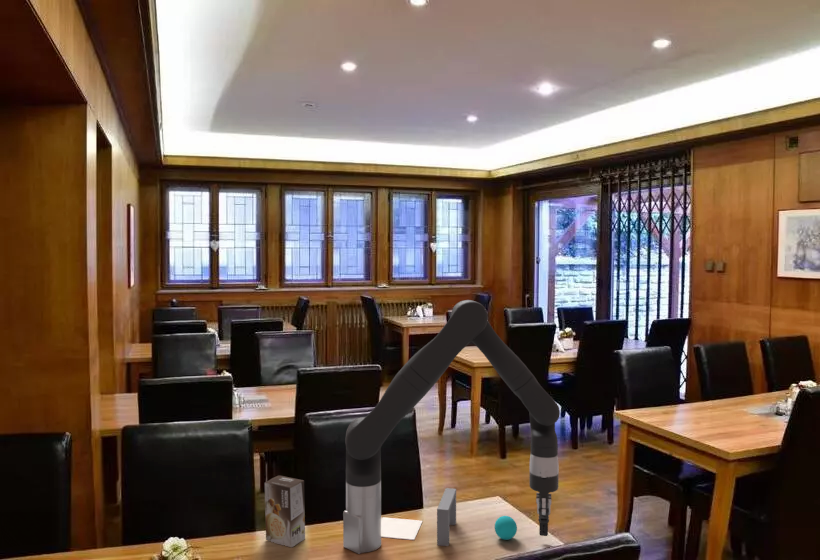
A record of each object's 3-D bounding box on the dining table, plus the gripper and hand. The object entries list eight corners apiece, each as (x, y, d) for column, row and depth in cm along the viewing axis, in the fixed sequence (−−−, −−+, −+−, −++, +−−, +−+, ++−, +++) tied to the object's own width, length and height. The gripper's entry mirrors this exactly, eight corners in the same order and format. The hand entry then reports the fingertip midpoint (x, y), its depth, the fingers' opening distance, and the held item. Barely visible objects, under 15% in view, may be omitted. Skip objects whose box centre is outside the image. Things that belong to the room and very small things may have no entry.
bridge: (456, 522, 178) (456, 488, 178) (448, 546, 163) (448, 509, 163) (445, 521, 179) (445, 488, 178) (437, 545, 164) (437, 509, 164)
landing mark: (422, 521, 179) (422, 520, 179) (414, 540, 167) (414, 539, 167) (382, 517, 181) (382, 517, 181) (371, 536, 169) (371, 535, 169)
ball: (508, 545, 163) (509, 523, 163) (490, 539, 168) (490, 517, 167) (521, 538, 168) (521, 516, 168) (502, 531, 172) (502, 510, 172)
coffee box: (306, 538, 168) (305, 480, 168) (291, 548, 163) (290, 487, 162) (279, 531, 173) (279, 474, 172) (264, 540, 167) (263, 482, 166)
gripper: (530, 461, 172) (529, 522, 173) (529, 478, 159) (528, 544, 160) (557, 463, 170) (557, 525, 171) (559, 480, 158) (558, 547, 158)
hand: (543, 534), depth 166 cm, fingers closed
